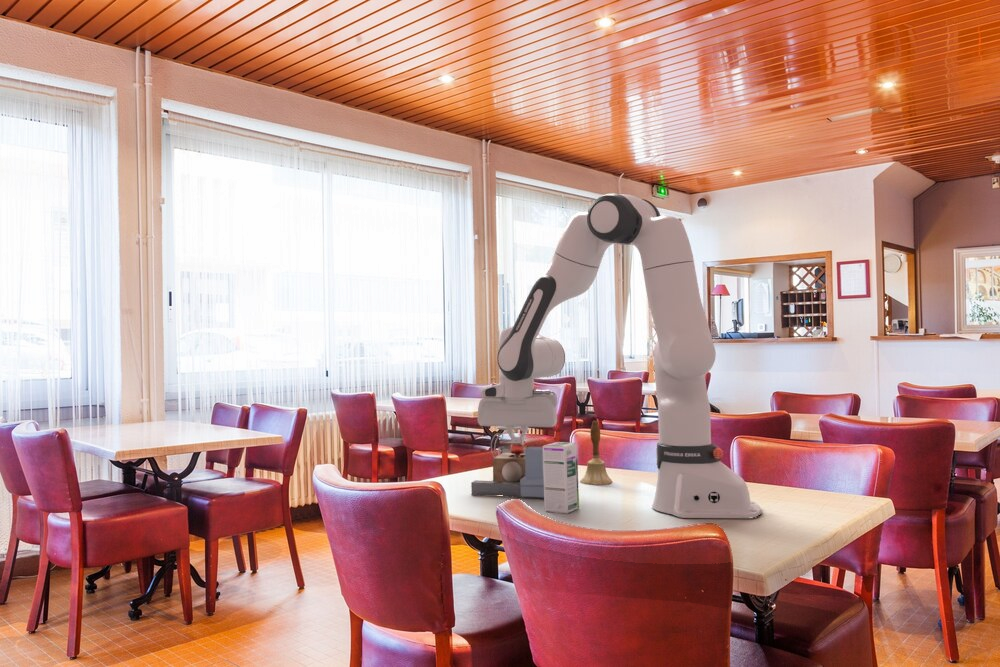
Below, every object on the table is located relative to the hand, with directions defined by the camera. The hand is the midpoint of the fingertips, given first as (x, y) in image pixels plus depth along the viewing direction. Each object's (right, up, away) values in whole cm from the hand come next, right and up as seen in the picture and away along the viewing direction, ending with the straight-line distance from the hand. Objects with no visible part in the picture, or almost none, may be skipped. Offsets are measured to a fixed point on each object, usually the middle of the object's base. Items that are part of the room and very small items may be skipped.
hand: (517, 444), depth 190 cm
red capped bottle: (0, -8, 0) cm, 8 cm away
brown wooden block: (0, -11, 0) cm, 11 cm away
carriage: (+4, -11, -12) cm, 16 cm away
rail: (-1, -11, -10) cm, 15 cm away
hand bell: (+21, -11, +6) cm, 24 cm away
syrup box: (+9, -11, -27) cm, 30 cm away
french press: (-2, -11, +15) cm, 19 cm away
